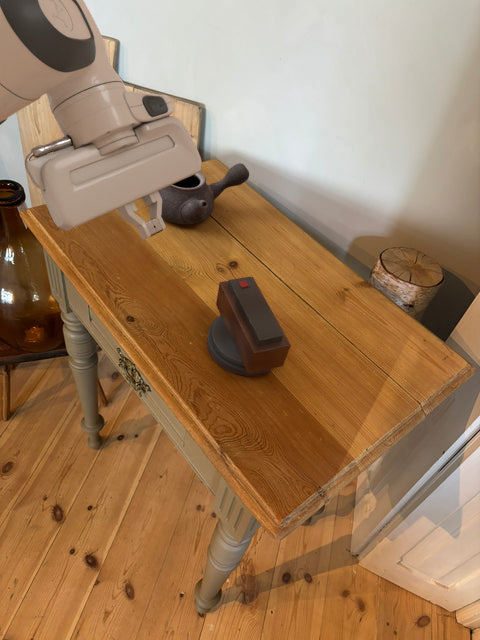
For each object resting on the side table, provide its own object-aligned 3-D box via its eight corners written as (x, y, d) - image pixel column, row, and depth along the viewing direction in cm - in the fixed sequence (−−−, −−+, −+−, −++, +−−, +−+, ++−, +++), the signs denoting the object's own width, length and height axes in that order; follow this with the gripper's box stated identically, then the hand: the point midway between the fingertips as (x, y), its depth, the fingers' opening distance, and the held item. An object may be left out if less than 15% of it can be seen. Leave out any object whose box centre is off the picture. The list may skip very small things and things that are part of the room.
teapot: (170, 244, 86) (173, 198, 78) (142, 197, 94) (142, 151, 87) (257, 226, 93) (267, 183, 86) (224, 185, 102) (230, 142, 94)
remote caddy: (297, 366, 69) (310, 334, 63) (229, 382, 65) (237, 350, 60) (261, 300, 77) (270, 267, 72) (199, 311, 73) (203, 277, 68)
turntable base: (191, 348, 70) (192, 342, 69) (234, 305, 78) (236, 299, 77) (257, 390, 67) (259, 384, 66) (295, 341, 74) (298, 335, 73)
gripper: (22, 143, 46) (91, 268, 50) (180, 93, 56) (226, 200, 60) (11, 160, 51) (73, 273, 55) (157, 111, 61) (201, 209, 66)
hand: (154, 234), depth 58 cm, fingers closed
